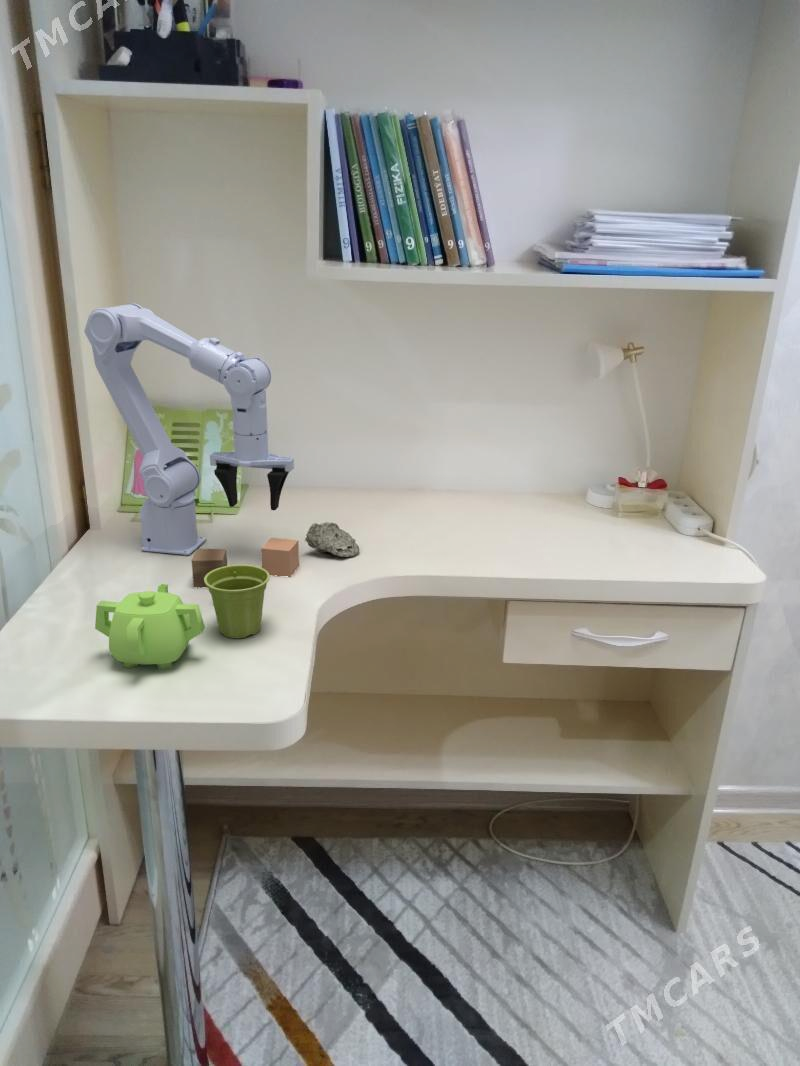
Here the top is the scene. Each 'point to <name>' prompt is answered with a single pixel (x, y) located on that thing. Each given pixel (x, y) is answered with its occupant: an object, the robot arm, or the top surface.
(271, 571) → the terracotta block
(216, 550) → the walnut block
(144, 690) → the top surface
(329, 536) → the rock sample
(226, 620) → the plant pot
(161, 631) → the green handled lidded container
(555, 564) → the top surface
